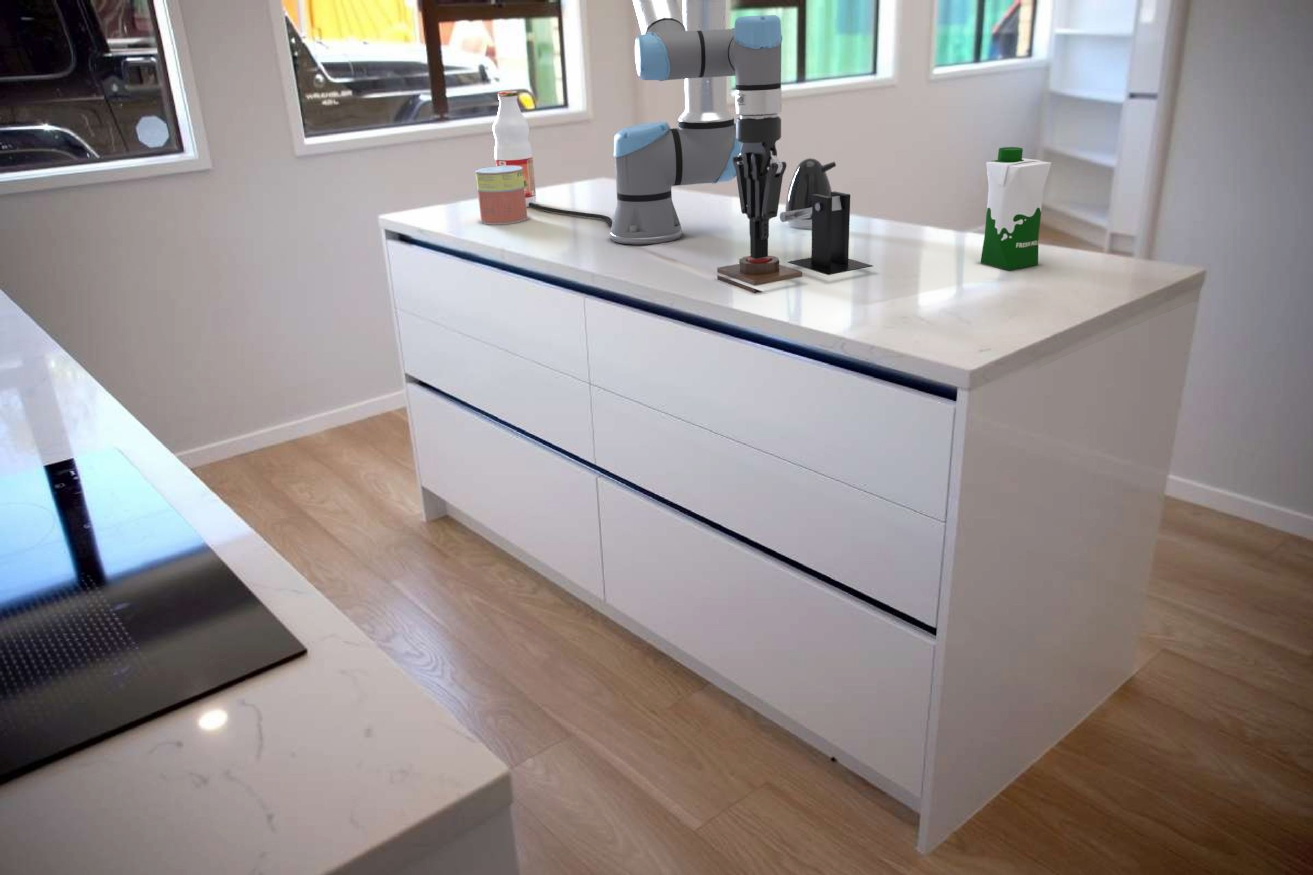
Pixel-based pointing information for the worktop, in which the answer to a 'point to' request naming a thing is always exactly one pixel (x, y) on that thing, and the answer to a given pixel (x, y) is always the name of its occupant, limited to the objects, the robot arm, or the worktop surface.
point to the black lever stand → (830, 237)
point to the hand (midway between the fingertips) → (759, 256)
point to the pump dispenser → (807, 188)
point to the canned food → (501, 194)
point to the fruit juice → (514, 141)
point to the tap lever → (807, 211)
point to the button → (759, 260)
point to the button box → (756, 273)
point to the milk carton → (1013, 210)
